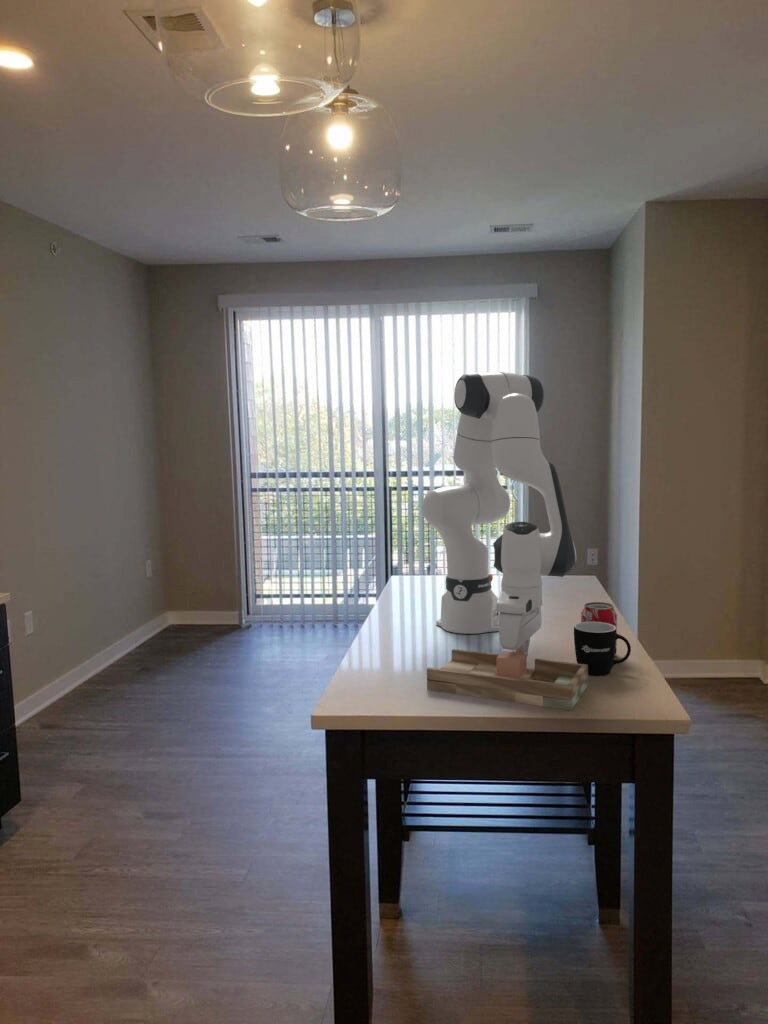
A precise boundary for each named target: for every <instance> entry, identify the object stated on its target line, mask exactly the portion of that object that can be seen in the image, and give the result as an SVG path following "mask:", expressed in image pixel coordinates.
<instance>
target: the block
mask: <svg viewBox="0 0 768 1024" xmlns="http://www.w3.org/2000/svg"><path fill="white" fill-rule="evenodd" d="M499 654H500V655H498V656H497V657H496V668H497V676H502V677H510V678H517V679H520V678H521V677H522V676H523V675H524V674H525V673H526V672H527V665H528V664H527V661H528V660H527V658H528V656H527V657H526V653H519V652H516V651H511V650H510V651H508V650H503V651H502V652H501V653H499Z"/></svg>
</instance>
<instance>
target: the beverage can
mask: <svg viewBox="0 0 768 1024" xmlns="http://www.w3.org/2000/svg"><path fill="white" fill-rule="evenodd" d="M614 608H615V607H614V605H613V604H612V603H610V602H609V603H608V602H600V601H593V602H592V601H591V602H587V603H585V604H584V607H583V610H582V611H581V613H580V614H581V616H580V617H581V618H580V620H581V621H580V623H581V622H603V623H608V624H611V625H614V626H615V627H616V633H617V631H618V630H617V629H618V627H617V626H618V622H617V621H618V614H617V612H616V610H615V609H614ZM617 634H618V633H617ZM617 641H618V639H617V640H616V647H615V655H616V654H617V645H618V644H617Z"/></svg>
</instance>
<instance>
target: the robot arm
mask: <svg viewBox="0 0 768 1024" xmlns="http://www.w3.org/2000/svg"><path fill="white" fill-rule="evenodd" d="M544 394H545V393H544V387H543V384H542V382H541V380H540V379H538V378H537V377H534V376H532V375H529V374H516V373H513V372H505V371H504V372H503V371H500V372H480V373H479V372H477V371H474V372H469V373H468V372H467V373H464V374H462V375H461V376H460V377H459V378H458V379H457V382H456V384H455V388H454V393H453V396H454V397H453V398H454V404H455V407H456V409H457V410H458V412H459V413H460V416H459V420H458V425H457V431H456V436H455V437H456V438H455V443H454V450H453V456H452V457H453V462H454V464H455V466H456V467H457V468H458V469H459V470H460V471H461V472H463V473H465V483H464V484H460V485H459V484H457V485H456V484H455V485H444V486H441V487H437V488H434V489H432V490H430V491H428V492H427V493H426V494H425V496H424V497H423V500H422V501H423V502H422V506H421V507H422V513H423V516H424V518H425V520H426V522H427V523H428V524H429V525H431V526H432V527H433V528H434V529H436V531H437V532H438V534H439V535H440V537H441V539H442V541H443V544H444V547H445V554H446V571H447V573H446V577H445V590H446V591H445V592H444V594H442V596H441V599H440V600H441V601H440V602H441V603H440V619H437V620H436V621H435V624H436V626H439V627H441V628H442V629H443V630H445V631H447V632H450V633H456V634H465V635H466V634H468V635H469V634H471V635H472V634H473V635H475V634H484V633H489V632H490V633H491V632H498V636H499V637H498V639H499V645H500V647H501V648H502V649H504V650H510V651H511V650H512V651H515V652H519V653H526V657H527V658H528V656H529V647H530V642H531V637H533V636H534V635H535V634H536V633H537V632H538V631H539V630H540V629H541V628H542V623H543V622H542V619H543V618H542V606H543V580H542V576H548V577H559V578H561V577H562V578H563V577H564V576H567V574H569V573H570V572H571V571H572V570H573V569H574V568H575V567H576V563H577V562H576V561H577V550H576V547H575V546H576V545H575V543H574V540H573V537H572V533H571V529H570V526H569V525H570V524H569V520H568V514H567V511H566V505H565V501H564V497H563V492H562V488H561V487H562V486H561V483H560V479H559V475H558V472H557V469H556V467H555V465H554V464H553V463H552V462H551V461H548V460H547V459H546V457H545V456H544V454H543V451H542V449H541V448H542V447H541V436H540V434H541V433H540V425H539V418H538V412H539V411H541V410H542V409H541V408H542V407H543V403H544V399H545V395H544ZM496 469H497V470H496ZM497 471H498V472H499V473H500V474H501V475H503V476H504V477H506V478H508V479H510V480H512V481H515V482H518V483H520V484H523V485H526V486H529V487H531V488H533V489H535V490H537V491H538V492H539V494H541V495H542V498H543V500H544V504H545V509H546V513H547V518H548V522H549V526H550V527H549V528H550V530H549V531H548V532H540V530H539V527H538V526H537V525H536V524H534V523H531V522H529V521H528V522H527V521H513V522H510V523H507V524H505V526H504V527H503V530H502V534H501V535H500V536H499V537H498V538H497V539H496V540H495V541H494V542H493V543H492V544H493V549H494V553H493V554H494V560H493V561H494V562H493V565H492V566H493V567H494V568H495V569H496V570H497V571H499V572H500V573H501V574H502V577H501V581H500V582H501V583H500V586H501V587H500V588H501V590H500V595H499V597H498V596H497V595H496V594H495V592H493V590H492V582H493V579H494V578H493V576H494V575H493V574H491V573H490V574H489V550H488V547H487V546H486V545H485V543H483V542H482V541H481V540H479V539H477V538H475V536H474V533H473V529H472V526H475V525H476V526H477V525H484V524H485V525H486V524H491V523H494V522H497V521H499V520H502V519H504V518H505V517H507V515H508V512H509V511H510V508H511V507H510V506H511V499H510V496H509V493H508V491H507V490H506V489H505V487H504V486H503V485H502V484H501V483H500V480H499V479H498V475H497Z"/></svg>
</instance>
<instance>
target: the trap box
mask: <svg viewBox="0 0 768 1024" xmlns="http://www.w3.org/2000/svg"><path fill="white" fill-rule="evenodd" d="M500 654H501V653H498V654H497V653H492V652H491V653H489V652H481V651H475V650H474V651H472V650H466V649H465V650H464V649H458V648H457V649H456V648H455V649H454V648H453V649H451V659H450V660H449V661H448V662H446V664H444V665H443V666H442V667H441V668H437V667H427V668H426V690H427V691H435V692H440V693H441V692H442V693H447V694H448V693H449V694H457V695H463V696H468V697H469V696H470V697H478V698H483V699H490V700H496V701H502V702H503V701H504V702H509V703H510V702H511V703H519V704H524V705H532V706H538V707H546V708H552V709H559V710H565V711H567V710H568V711H572V710H573V709H574V707H575V706H576V704H577V703H578V701H579V699H580V698H581V696H582V695H583V694H584V692H585V690H586V689H587V688H588V686H589V683H588V681H589V675H588V665H586V664H578V663H577V662H569V661H558V660H550V659H543V658H542V659H541V658H535V659H534V668H527V672H526V673H525V674H524V675H523V676H522V677H521V678H520V679H517V678H510V677H502V676H497V668H496V657H497V656H498V655H500Z"/></svg>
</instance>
